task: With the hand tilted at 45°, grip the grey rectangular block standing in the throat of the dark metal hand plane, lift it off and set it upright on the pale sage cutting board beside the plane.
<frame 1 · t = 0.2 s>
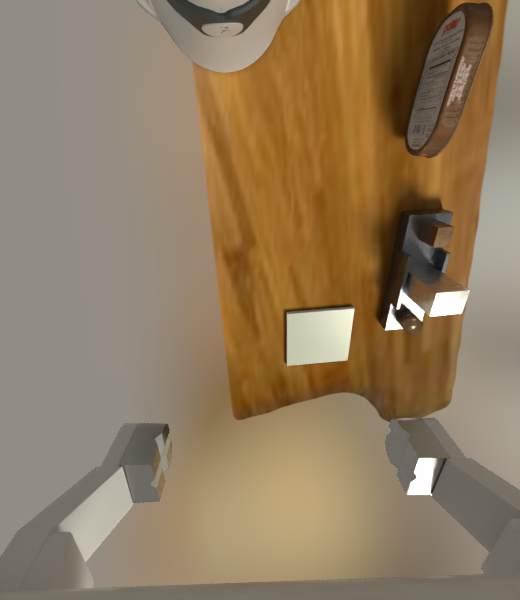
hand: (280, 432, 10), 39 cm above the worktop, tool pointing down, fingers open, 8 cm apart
hand plane: (407, 271, 52), on the worktop
grey rectangular block: (415, 277, 50), point 2 cm above the worktop, touching hand plane
cutting board: (318, 336, 57), on the worktop
tin: (421, 93, 38), on the worktop
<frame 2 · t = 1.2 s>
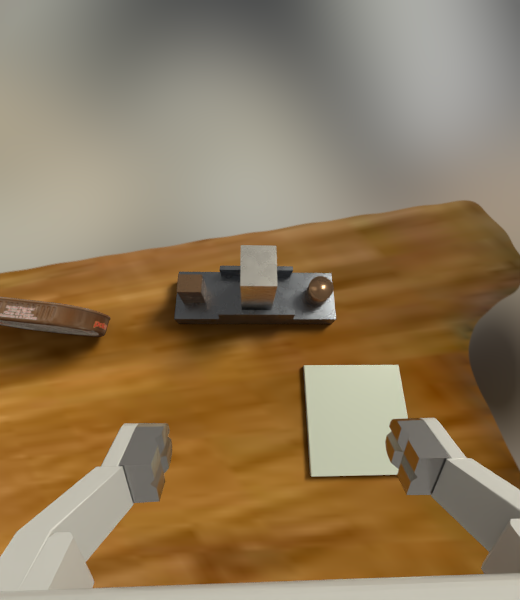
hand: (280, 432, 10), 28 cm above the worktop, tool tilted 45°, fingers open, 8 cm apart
hand plane: (255, 301, 42), on the worktop
grey rectangular block: (256, 295, 40), point 2 cm above the worktop, touching hand plane
cutting board: (355, 416, 37), on the worktop
tin: (65, 327, 40), on the worktop
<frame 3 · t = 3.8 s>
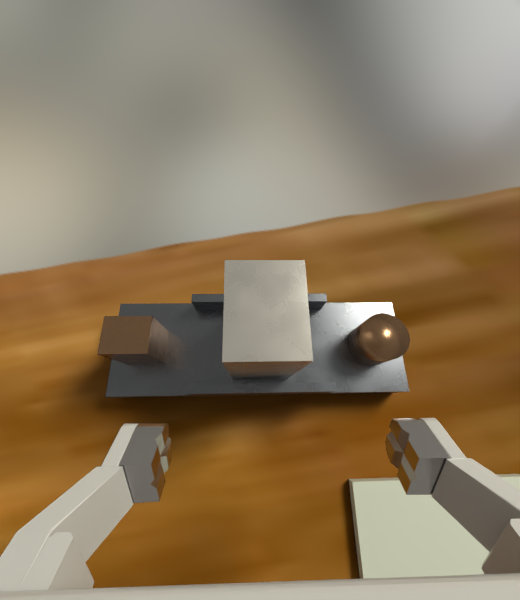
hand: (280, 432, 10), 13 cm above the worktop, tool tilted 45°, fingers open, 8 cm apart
hand plane: (258, 351, 24), on the worktop
grey rectangular block: (259, 345, 22), point 2 cm above the worktop, touching hand plane
cutting board: (457, 588, 19), on the worktop
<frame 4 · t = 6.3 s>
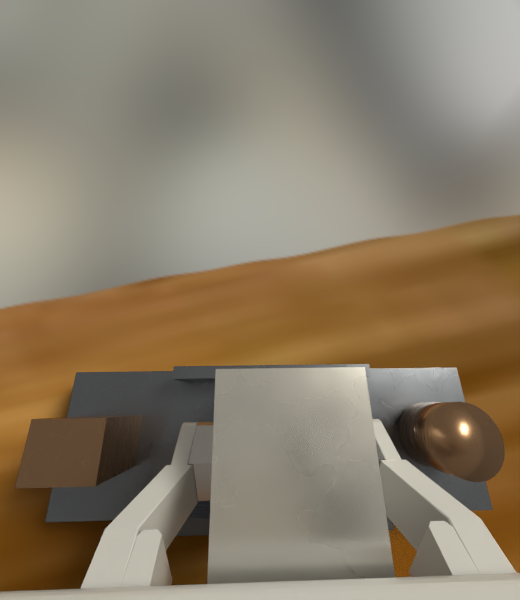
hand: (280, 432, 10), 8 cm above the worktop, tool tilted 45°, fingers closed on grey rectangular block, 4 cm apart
hand plane: (269, 432, 17), on the worktop
grey rectangular block: (271, 436, 15), point 2 cm above the worktop, touching gripper, hand plane
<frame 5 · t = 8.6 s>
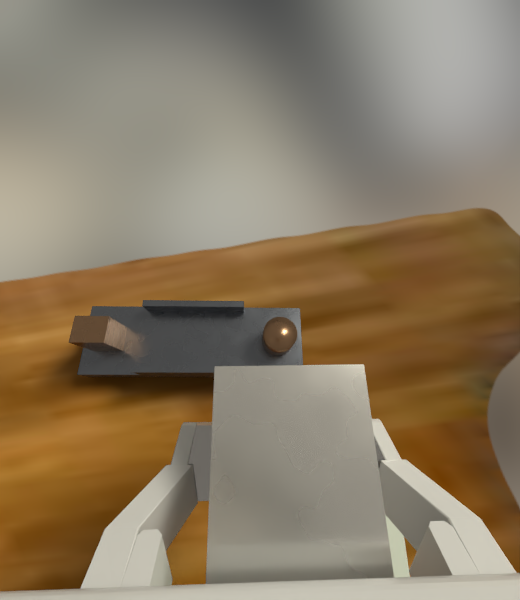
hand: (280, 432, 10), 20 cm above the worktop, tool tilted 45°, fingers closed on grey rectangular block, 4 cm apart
hand plane: (198, 344, 31), on the worktop
grey rectangular block: (271, 435, 15), point 15 cm above the worktop, touching gripper
cutting board: (327, 517, 26), on the worktop
when the fingers open (8 cm above the worktop, at t = 11.1 s): grey rectangular block drops 1 cm, resting on cutting board.
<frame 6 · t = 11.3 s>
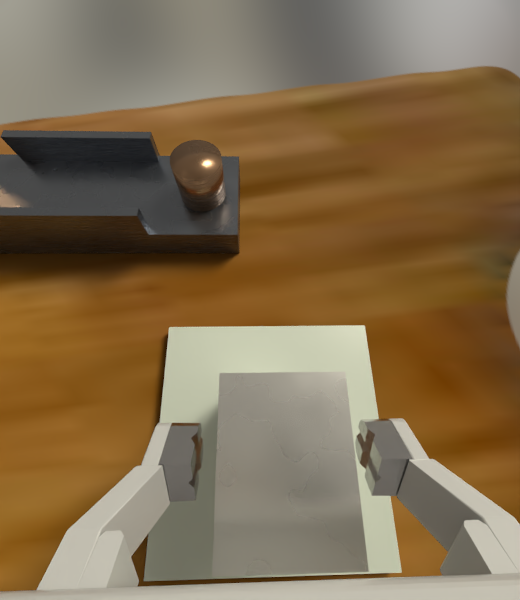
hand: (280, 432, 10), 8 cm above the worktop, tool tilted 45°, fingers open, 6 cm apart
hand plane: (101, 214, 22), on the worktop
grey rectangular block: (269, 433, 16), point 1 cm above the worktop, touching cutting board
cutting board: (269, 433, 17), on the worktop
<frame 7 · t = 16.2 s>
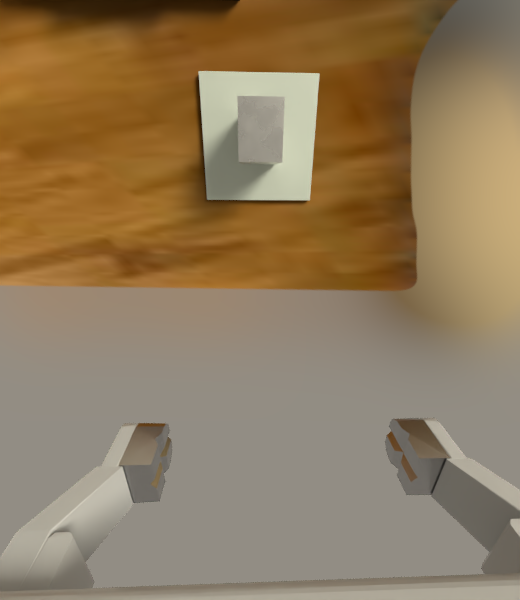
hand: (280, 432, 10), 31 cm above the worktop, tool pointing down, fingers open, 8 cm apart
grey rectangular block: (258, 140, 33), point 1 cm above the worktop, touching cutting board
cutting board: (258, 142, 34), on the worktop
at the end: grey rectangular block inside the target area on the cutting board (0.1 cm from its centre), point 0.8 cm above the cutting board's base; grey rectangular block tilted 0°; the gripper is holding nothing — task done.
